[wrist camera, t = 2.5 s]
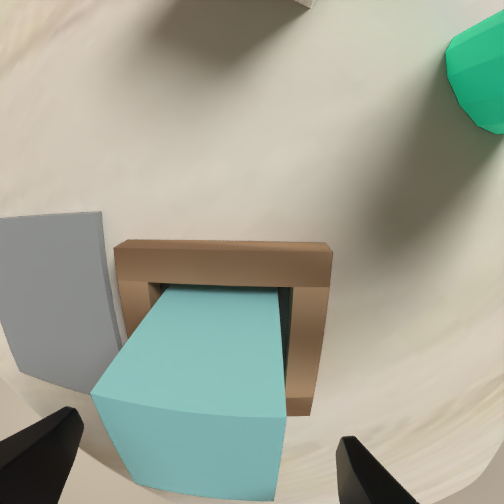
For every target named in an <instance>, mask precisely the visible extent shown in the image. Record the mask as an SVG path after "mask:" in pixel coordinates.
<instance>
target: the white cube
mask: <svg viewBox="0 0 504 504" xmlns="http://www.w3.org/2000/svg"><path fill="white" fill-rule="evenodd" d="M294 1H296V2H298V3H300V4H302V5H304V6H306V7H308V8H311V7H312V6H313V5H314V4H315V2H316V1H317V0H294Z"/></svg>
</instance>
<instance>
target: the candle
mask: <svg viewBox="0 0 504 504" xmlns="http://www.w3.org/2000/svg"><path fill="white" fill-rule="evenodd" d="M445 55H446V66H447V78H448V80H449V82H450V84H451V86H452V88H453V91H454V93H455V95H456V98H457V100H458V102H459V105H460V106H461V107H462V108H463V109H464V111H465V112H466V113H467V114H468V115H469V116H470V118H471V119H472V120H473V121H474V122H475V124H476V125H477V126H479V127H481V128H483V129H485V130H488V131H490V132H492V133H494V134H504V10H502V11H500V12H498V13H497V14H495V15H493V16H491V17H489V18H487V19H485V20H483V21H482V22H480V23H478V24H476V25H474V26H473V27H471V28H469V29H467V30H466V31H464V32H462V33H460V34H459V35H457V36H455V37H454V38H453V40H452V41H451V43H450V45H449V46H448V48H447V50H446V51H445Z"/></svg>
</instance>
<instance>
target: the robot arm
mask: <svg viewBox="0 0 504 504" xmlns="http://www.w3.org/2000/svg"><path fill="white" fill-rule="evenodd" d="M83 430H84V423H83V421H82V419H81V417H80V415H79V413H78V411H77V410H76V409H75V408H72V407H68V406H66V407H64V408H62V409H60V410H58V411H57V412H55V413H53V414H51V415H49V416H47V417H46V418H44V419H42V420H40V421H38V422H36V423H35V424H33V425H31V426H29V427H27V428H25V429H23V430H21V431H19V432H17V433H16V434H14V435H12V436H10V437H8V438H6V439H4V440H2V441H0V504H58V501H59V498H60V495H61V493H62V490H63V488H64V485H65V483H66V480H67V478H68V475H69V473H70V470H71V467H72V465H73V462H74V460H75V457H76V453H77V450H78V447H79V443H80V440H81V437H82V433H83ZM336 466H337V481H338V495H339V501H340V504H419V503H418V502H416V500H415V499H414V498H413V497H412V496H411V495H410V494H409V493H408V492H407V491H406V490H405V489H404V488H403V487H402V486H401V485H400V484H399V483H398V482H397V481H396V479H395V478H394V477H393V476H392V475H391V474H390V473H389V472H388V471H387V470H386V469H385V468H384V467H383V466H382V465H381V464H380V463H379V462H378V461H377V460H376V459H375V457H374V456H373V455H372V454H371V453H370V452H369V451H368V450H367V449H366V448H365V447H364V446H363V445H362V443H361V442H360V441H359V440H358V439H357V438H356V437H355V436H344V437H342V438H341V439H340V442H339V445H338V448H337V450H336Z"/></svg>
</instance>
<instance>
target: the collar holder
mask: <svg viewBox="0 0 504 504" xmlns="http://www.w3.org/2000/svg"><path fill="white" fill-rule="evenodd" d="M114 257H115V265H116V272H117V279H118V286H119V292H120V298H121V304H122V310H123V315H124V320H125V325H126V330H127V335H128V339H129V338H130V337H131V335H132V334H133V332H134V331H135V330H136V328H137V327H138V326H139V324H140V323H141V322H142V320H143V319H144V318H145V316H146V315H147V314H148V313H149V311H150V310H151V309H152V307H153V306H154V305H155V303H156V302H157V301H158V299H159V298H160V297H161V289H160V283H175V284H198V285H225V286H262V287H290V296H289V312H288V326H287V340H286V352H285V364H284V384H285V399H286V416H310V412H311V407H312V402H313V396H314V391H315V386H316V380H317V374H318V368H319V362H320V356H321V349H322V343H323V336H324V328H325V321H326V313H327V305H328V296H329V287H330V278H331V268H332V257H333V252H332V250H331V249H330V248H329V246H328V245H327V244H326V243H311V242H266V241H209V240H126V241H124V242H123V243H121V244H119V245H118V246H116V247H114Z"/></svg>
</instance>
